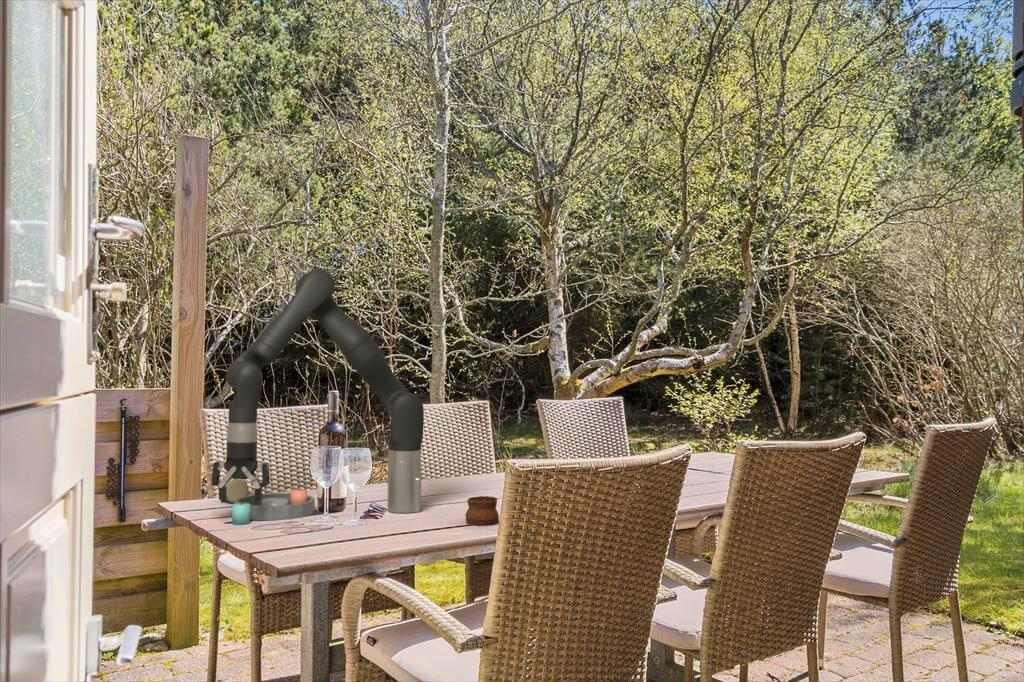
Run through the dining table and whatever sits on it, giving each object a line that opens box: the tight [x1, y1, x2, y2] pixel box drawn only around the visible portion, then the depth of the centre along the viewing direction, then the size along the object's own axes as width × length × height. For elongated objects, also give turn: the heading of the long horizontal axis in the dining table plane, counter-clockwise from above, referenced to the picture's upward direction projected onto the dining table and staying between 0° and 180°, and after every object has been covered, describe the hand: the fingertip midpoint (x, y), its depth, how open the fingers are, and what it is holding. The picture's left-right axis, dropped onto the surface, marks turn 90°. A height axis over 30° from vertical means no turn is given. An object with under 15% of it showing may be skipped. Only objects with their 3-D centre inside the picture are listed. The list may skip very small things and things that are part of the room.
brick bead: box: [290, 488, 308, 505], centre depth 238 cm, size 4×4×5 cm
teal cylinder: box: [231, 503, 251, 526], centre depth 223 cm, size 4×4×5 cm
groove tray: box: [233, 492, 316, 521], centre depth 238 cm, size 21×21×4 cm
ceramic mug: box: [217, 475, 255, 504], centre depth 254 cm, size 11×8×8 cm
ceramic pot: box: [465, 495, 500, 530], centre depth 229 cm, size 18×18×7 cm
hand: (240, 502), depth 223 cm, fingers open, 8 cm apart
